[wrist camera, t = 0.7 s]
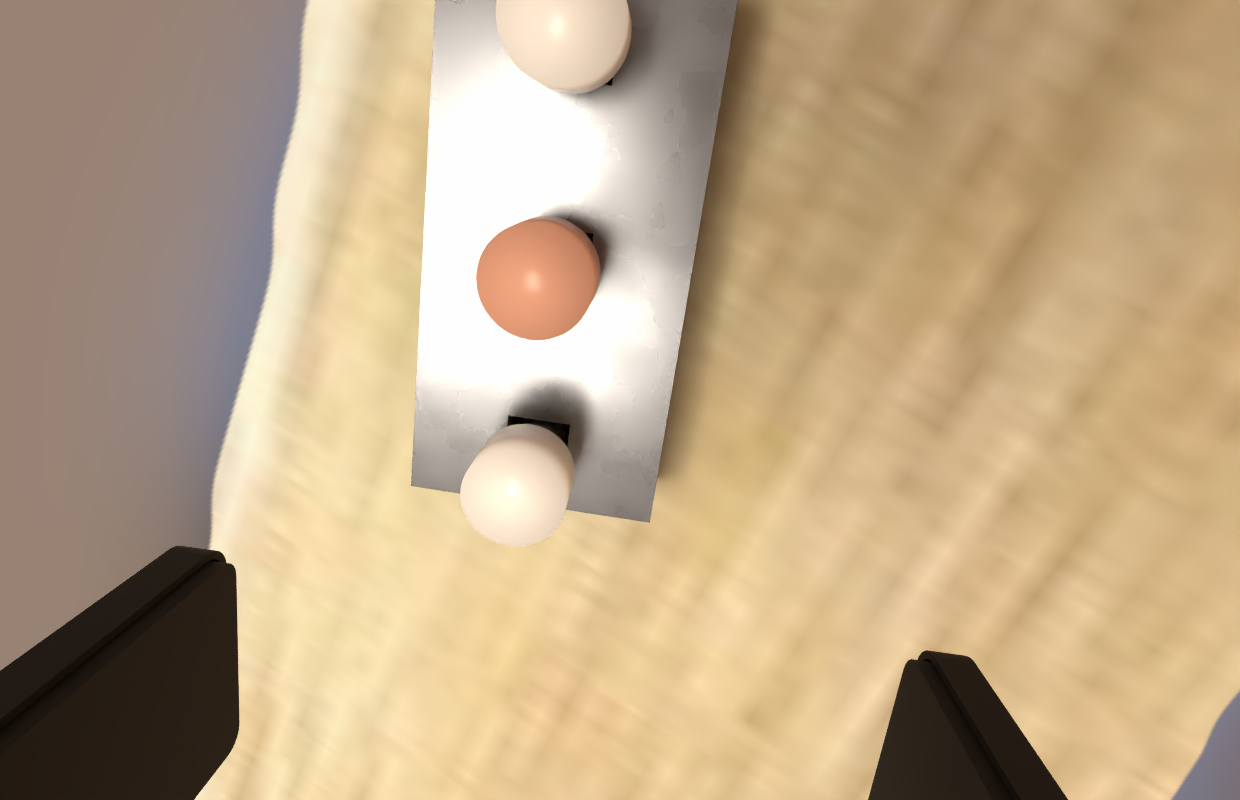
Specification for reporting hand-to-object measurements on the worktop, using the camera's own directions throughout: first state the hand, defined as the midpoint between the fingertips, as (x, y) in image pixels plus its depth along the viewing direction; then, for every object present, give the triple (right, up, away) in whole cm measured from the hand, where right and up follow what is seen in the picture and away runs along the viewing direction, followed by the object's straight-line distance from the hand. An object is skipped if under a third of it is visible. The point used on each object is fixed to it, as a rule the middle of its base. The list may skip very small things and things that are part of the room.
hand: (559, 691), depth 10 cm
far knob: (-3, +2, +27) cm, 28 cm away
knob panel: (-2, +12, +27) cm, 29 cm away
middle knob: (-2, +11, +25) cm, 27 cm away
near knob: (-1, +19, +22) cm, 29 cm away
